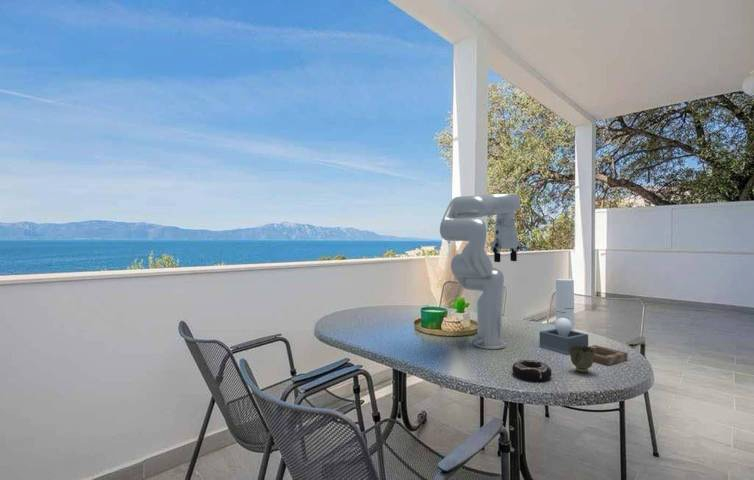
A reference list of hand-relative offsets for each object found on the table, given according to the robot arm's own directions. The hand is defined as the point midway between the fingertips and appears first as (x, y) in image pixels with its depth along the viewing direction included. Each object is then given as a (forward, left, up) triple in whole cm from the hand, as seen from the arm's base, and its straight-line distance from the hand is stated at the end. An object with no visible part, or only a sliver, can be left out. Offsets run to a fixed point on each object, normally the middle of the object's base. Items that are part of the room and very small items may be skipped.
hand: (505, 261), depth 176 cm
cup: (-16, -46, -33) cm, 59 cm away
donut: (-33, -40, -34) cm, 62 cm away
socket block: (+3, -41, -33) cm, 53 cm away
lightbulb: (+3, -26, -32) cm, 42 cm away
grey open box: (+3, -26, -33) cm, 42 cm away
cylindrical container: (+21, -14, -33) cm, 42 cm away
